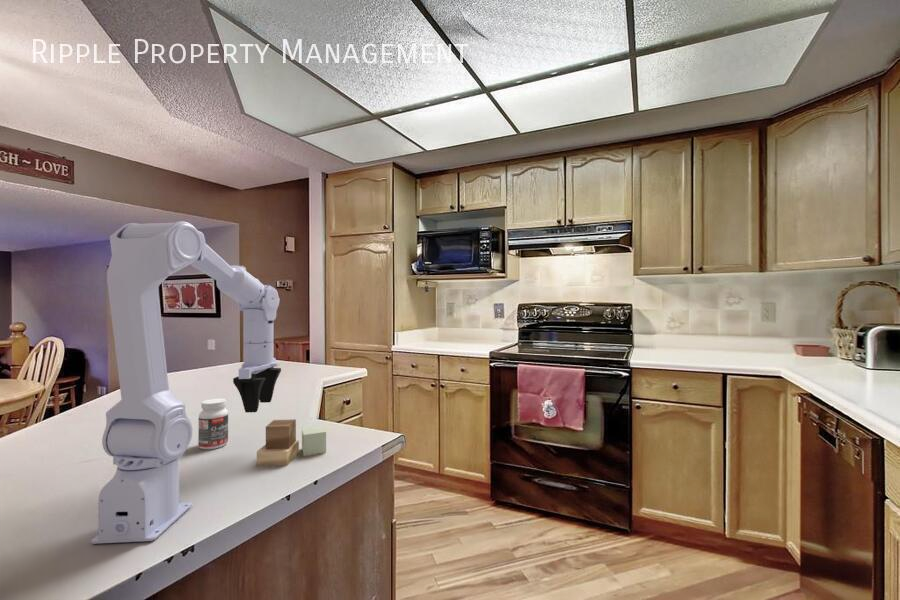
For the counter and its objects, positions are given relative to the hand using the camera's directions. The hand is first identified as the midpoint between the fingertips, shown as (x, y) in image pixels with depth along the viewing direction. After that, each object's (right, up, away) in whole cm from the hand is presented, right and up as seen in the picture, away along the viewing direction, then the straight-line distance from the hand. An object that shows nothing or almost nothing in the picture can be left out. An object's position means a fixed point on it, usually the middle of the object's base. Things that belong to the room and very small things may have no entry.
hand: (258, 406), depth 84 cm
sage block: (+11, -10, +2) cm, 15 cm away
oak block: (+5, -10, -3) cm, 12 cm away
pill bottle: (-13, -10, +5) cm, 17 cm away
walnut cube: (+6, -7, -2) cm, 9 cm away
